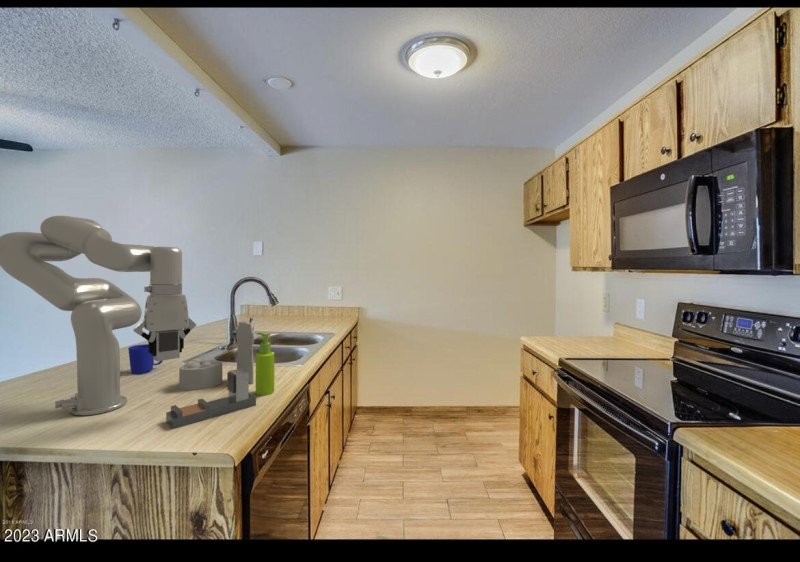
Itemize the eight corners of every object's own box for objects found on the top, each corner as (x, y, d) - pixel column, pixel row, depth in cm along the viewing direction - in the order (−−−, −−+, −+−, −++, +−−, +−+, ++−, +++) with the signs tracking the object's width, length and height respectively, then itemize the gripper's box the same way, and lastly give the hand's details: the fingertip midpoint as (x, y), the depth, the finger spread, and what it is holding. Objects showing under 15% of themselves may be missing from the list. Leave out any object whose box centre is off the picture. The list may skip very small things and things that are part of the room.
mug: (169, 369, 140) (169, 344, 140) (134, 376, 130) (133, 350, 130) (159, 365, 145) (159, 341, 144) (124, 372, 135) (124, 347, 134)
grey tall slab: (231, 379, 130) (231, 320, 129) (242, 376, 133) (242, 319, 132) (247, 385, 124) (248, 323, 123) (258, 382, 127) (258, 322, 126)
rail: (172, 428, 91) (172, 389, 90) (166, 421, 95) (165, 383, 95) (255, 405, 107) (256, 371, 107) (247, 399, 111) (247, 367, 111)
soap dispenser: (266, 387, 123) (267, 330, 122) (277, 391, 118) (278, 333, 117) (250, 391, 118) (250, 332, 117) (261, 396, 114) (261, 335, 113)
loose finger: (153, 358, 100) (153, 330, 99) (175, 355, 104) (175, 328, 103) (157, 361, 97) (157, 333, 96) (180, 358, 101) (180, 330, 101)
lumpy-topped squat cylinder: (226, 382, 126) (226, 359, 126) (188, 393, 116) (188, 367, 115) (210, 377, 132) (210, 354, 132) (172, 386, 121) (172, 362, 121)
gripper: (131, 292, 91) (132, 361, 92) (204, 290, 103) (203, 351, 104) (125, 290, 96) (126, 355, 97) (195, 288, 108) (195, 346, 109)
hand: (166, 352), depth 100 cm, fingers closed on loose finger, 5 cm apart
